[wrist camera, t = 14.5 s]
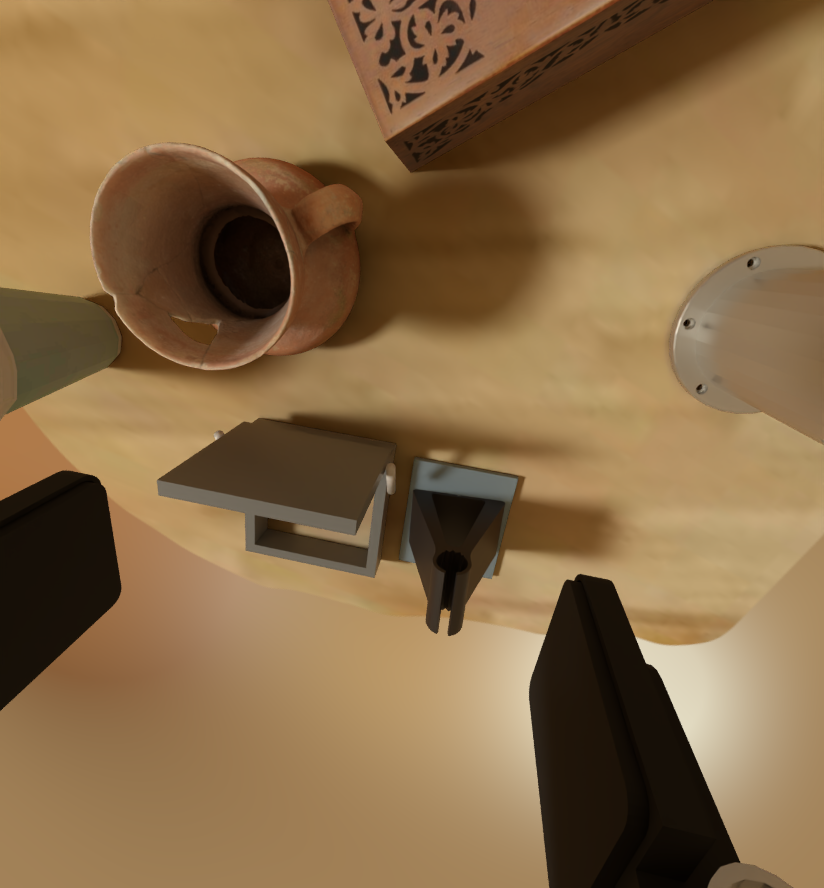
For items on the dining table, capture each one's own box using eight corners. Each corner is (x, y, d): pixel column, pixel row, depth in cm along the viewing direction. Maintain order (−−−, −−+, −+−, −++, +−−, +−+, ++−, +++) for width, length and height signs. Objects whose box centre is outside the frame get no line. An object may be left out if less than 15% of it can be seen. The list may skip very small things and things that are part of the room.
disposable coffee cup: (55, 376, 46) (-128, 426, 32) (29, 264, 42) (-194, 266, 28) (150, 389, 45) (3, 446, 31) (134, 275, 41) (-45, 283, 27)
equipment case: (407, 438, 43) (371, 522, 29) (389, 561, 49) (352, 680, 35) (249, 408, 44) (143, 476, 30) (250, 532, 50) (161, 636, 36)
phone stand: (505, 501, 43) (513, 584, 32) (495, 552, 45) (499, 645, 34) (413, 488, 44) (390, 564, 33) (408, 538, 46) (386, 625, 35)
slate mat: (517, 476, 42) (518, 479, 42) (491, 575, 47) (491, 578, 47) (414, 456, 43) (414, 459, 43) (399, 556, 48) (398, 559, 47)
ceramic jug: (243, 374, 43) (143, 424, 30) (162, 217, 38) (1, 195, 25) (417, 305, 38) (390, 329, 25) (350, 118, 34) (274, 30, 21)
